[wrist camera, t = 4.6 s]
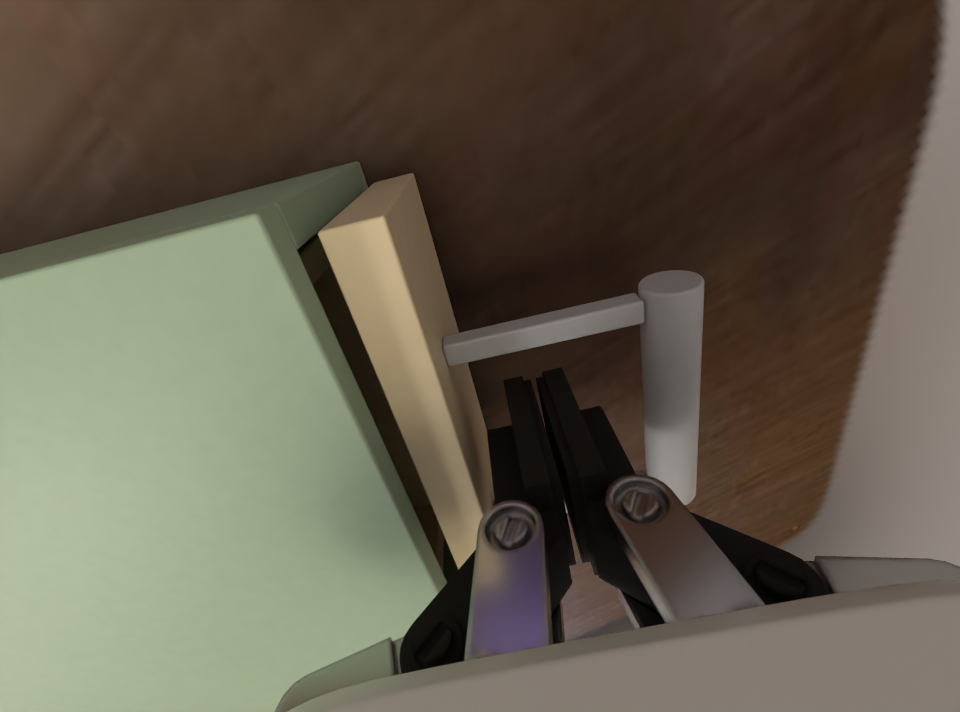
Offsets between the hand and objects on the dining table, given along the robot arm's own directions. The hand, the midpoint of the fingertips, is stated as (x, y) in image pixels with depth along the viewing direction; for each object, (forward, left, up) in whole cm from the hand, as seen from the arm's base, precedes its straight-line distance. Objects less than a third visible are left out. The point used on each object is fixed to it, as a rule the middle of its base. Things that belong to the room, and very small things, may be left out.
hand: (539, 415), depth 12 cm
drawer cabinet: (+8, -7, -4) cm, 12 cm away
